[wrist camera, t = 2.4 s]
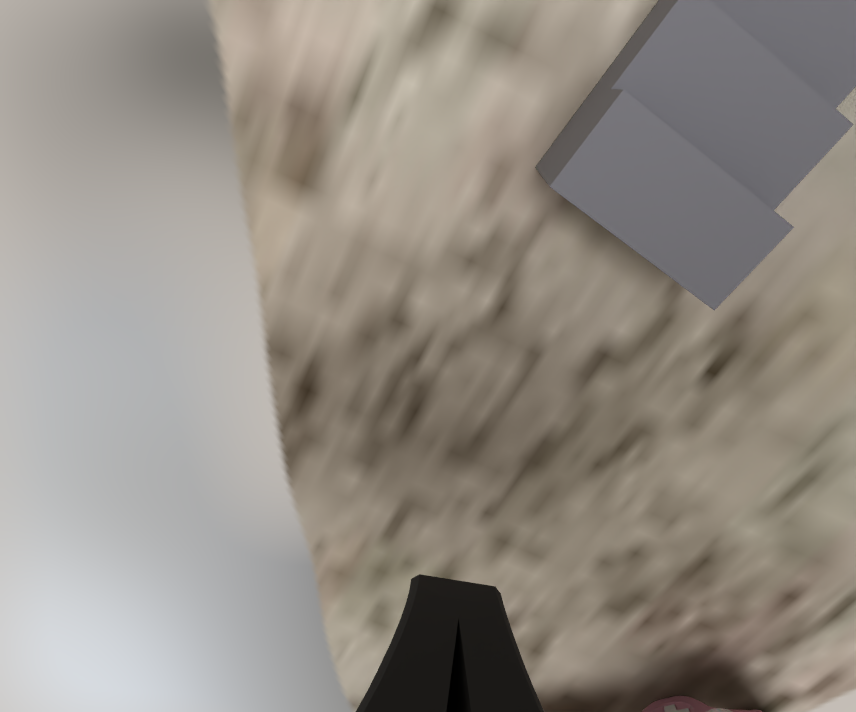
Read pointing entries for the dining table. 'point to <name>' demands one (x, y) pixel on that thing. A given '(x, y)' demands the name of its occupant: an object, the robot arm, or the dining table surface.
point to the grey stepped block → (709, 132)
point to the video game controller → (685, 706)
